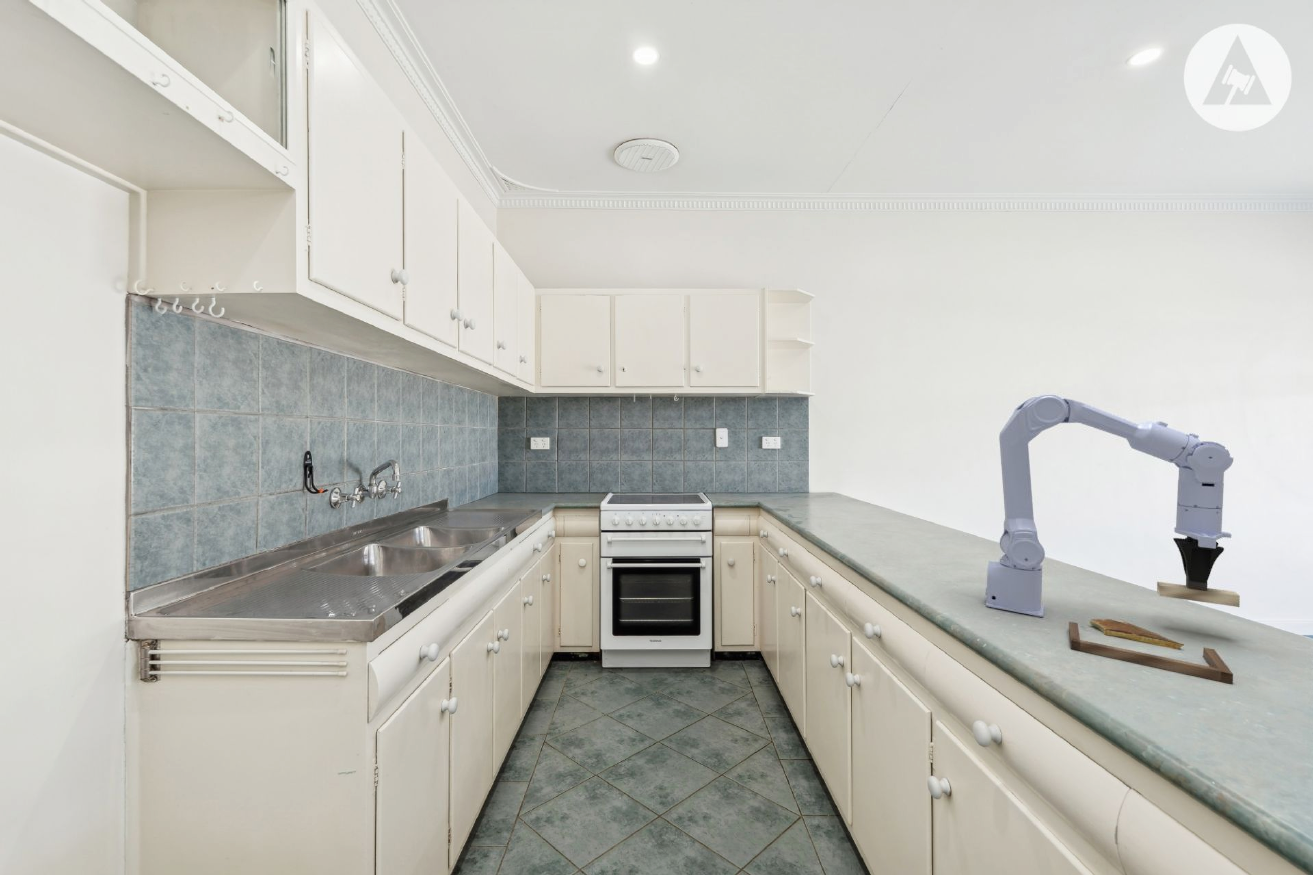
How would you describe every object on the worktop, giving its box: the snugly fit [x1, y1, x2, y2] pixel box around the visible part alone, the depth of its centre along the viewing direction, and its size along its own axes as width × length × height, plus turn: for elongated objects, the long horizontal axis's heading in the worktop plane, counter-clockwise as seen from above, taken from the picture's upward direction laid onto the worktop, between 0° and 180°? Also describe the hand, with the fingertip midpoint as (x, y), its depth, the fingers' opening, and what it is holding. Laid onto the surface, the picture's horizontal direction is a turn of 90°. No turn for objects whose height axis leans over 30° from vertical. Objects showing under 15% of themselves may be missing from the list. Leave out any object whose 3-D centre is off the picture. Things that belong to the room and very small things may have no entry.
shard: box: [1089, 618, 1185, 650], centre depth 91 cm, size 11×8×2 cm
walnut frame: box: [1068, 621, 1234, 685], centre depth 84 cm, size 18×11×2 cm, turn 52°
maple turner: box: [1156, 568, 1241, 608], centre depth 93 cm, size 10×3×7 cm, turn 52°
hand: (1196, 580), depth 93 cm, fingers closed on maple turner, 2 cm apart
